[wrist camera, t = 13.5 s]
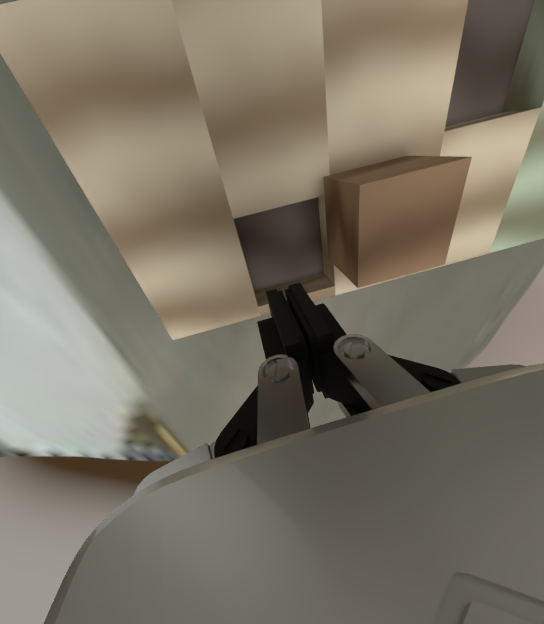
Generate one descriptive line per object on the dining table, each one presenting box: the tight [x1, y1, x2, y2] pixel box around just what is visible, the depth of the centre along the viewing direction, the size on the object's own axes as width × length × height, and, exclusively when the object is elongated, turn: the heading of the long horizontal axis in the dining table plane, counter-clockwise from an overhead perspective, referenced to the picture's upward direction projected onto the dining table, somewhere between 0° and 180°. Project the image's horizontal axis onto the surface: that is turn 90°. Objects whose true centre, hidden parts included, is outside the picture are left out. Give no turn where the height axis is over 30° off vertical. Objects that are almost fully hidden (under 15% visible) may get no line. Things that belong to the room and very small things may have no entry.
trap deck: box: [0, 0, 544, 340], centre depth 16 cm, size 19×39×6 cm, turn 101°
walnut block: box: [323, 156, 472, 288], centre depth 16 cm, size 6×6×5 cm
